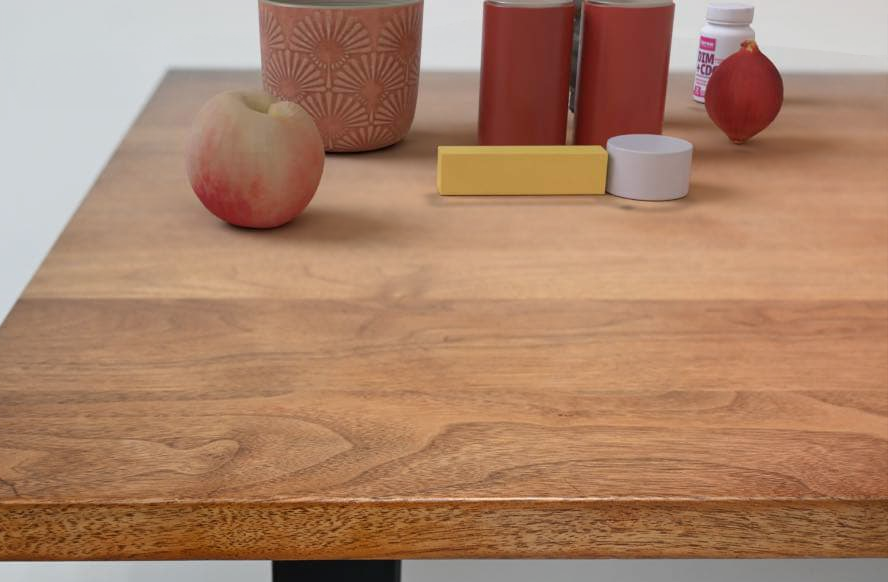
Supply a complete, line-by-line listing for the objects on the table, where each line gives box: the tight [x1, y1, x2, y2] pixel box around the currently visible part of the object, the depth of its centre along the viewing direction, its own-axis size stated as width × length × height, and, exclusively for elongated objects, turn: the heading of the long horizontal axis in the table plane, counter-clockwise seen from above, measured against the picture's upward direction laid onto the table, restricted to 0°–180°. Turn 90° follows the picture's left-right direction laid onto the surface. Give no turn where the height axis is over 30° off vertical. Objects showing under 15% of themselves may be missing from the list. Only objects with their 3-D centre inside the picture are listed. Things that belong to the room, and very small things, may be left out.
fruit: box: [184, 87, 326, 229], centre depth 75 cm, size 8×8×8 cm
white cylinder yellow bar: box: [436, 134, 694, 202], centre depth 84 cm, size 17×6×3 cm, turn 92°
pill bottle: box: [692, 2, 756, 104], centre depth 112 cm, size 5×5×8 cm
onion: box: [704, 39, 785, 145], centre depth 96 cm, size 6×6×8 cm
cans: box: [476, 0, 676, 150], centre depth 92 cm, size 14×7×11 cm, turn 92°
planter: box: [257, 0, 425, 153], centre depth 95 cm, size 12×12×11 cm
